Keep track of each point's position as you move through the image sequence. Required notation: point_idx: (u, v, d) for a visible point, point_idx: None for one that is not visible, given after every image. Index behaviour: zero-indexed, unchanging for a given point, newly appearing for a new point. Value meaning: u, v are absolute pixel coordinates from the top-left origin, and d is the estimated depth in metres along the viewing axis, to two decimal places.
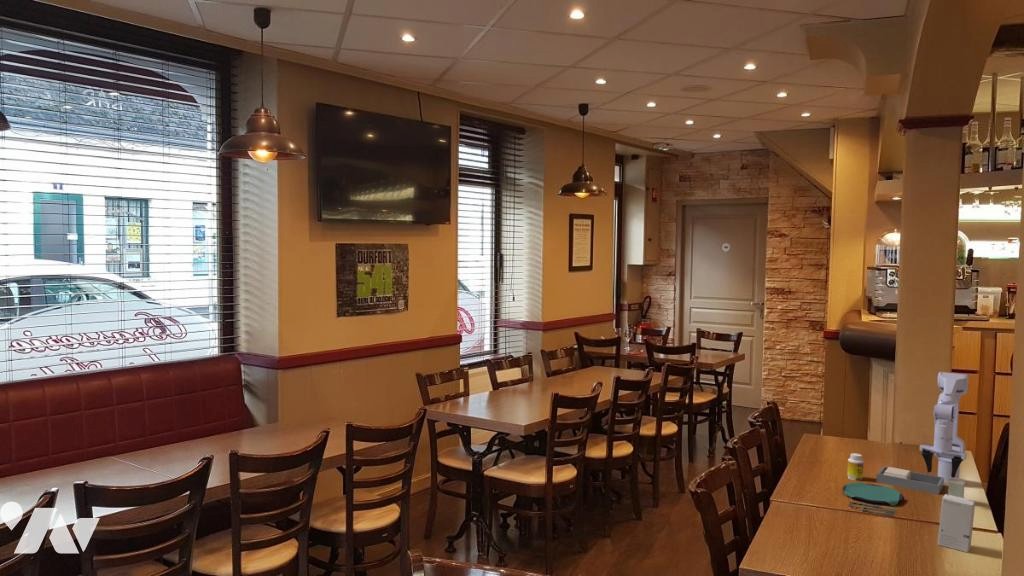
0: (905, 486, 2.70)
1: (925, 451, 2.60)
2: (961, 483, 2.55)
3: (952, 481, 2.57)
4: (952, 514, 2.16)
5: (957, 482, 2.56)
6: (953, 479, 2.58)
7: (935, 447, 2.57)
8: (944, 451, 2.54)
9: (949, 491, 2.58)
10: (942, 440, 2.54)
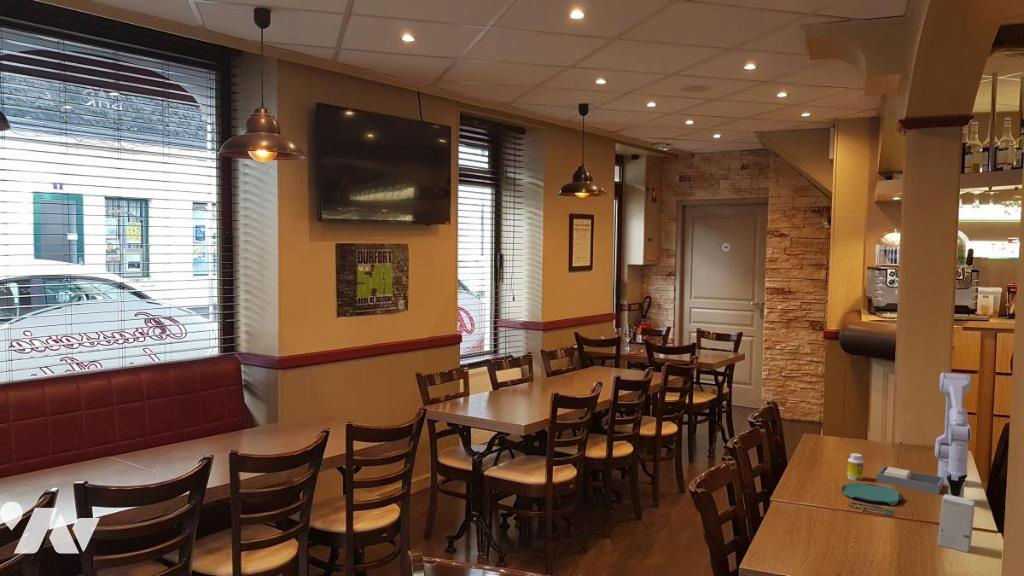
0: (905, 486, 2.70)
1: None
2: None
3: None
4: (952, 514, 2.16)
5: None
6: None
7: None
8: (948, 469, 2.59)
9: (949, 491, 2.58)
10: (948, 458, 2.59)
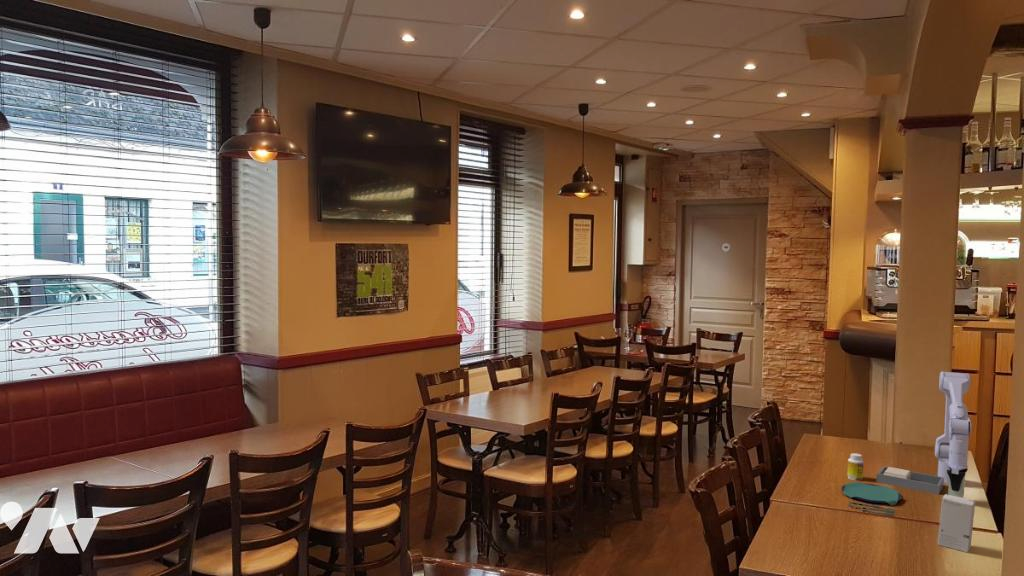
0: (905, 486, 2.70)
1: None
2: None
3: None
4: (952, 514, 2.15)
5: None
6: None
7: None
8: (948, 463, 2.58)
9: (950, 485, 2.58)
10: (949, 452, 2.59)
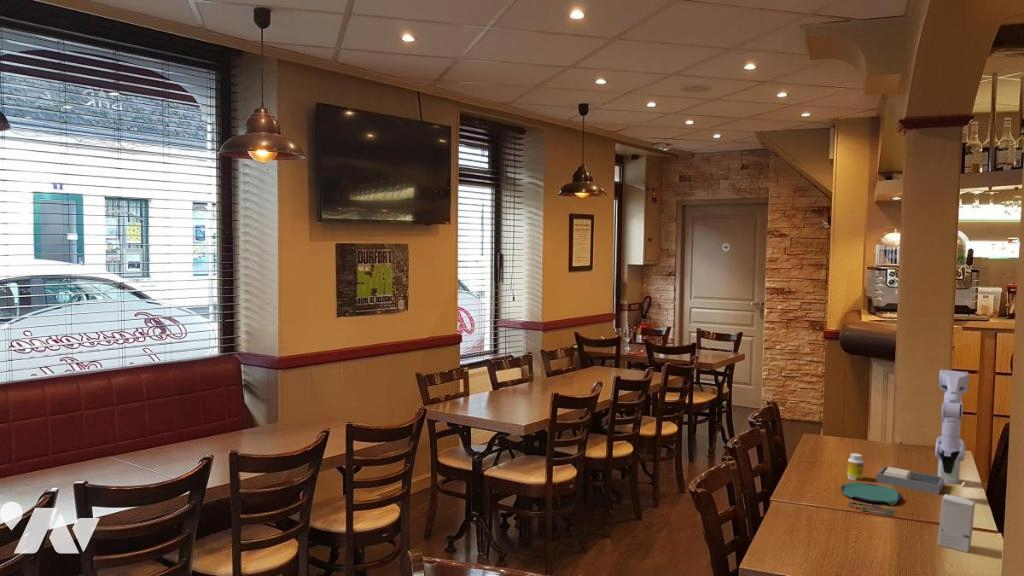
0: (905, 486, 2.70)
1: None
2: None
3: None
4: (952, 514, 2.15)
5: None
6: None
7: None
8: (941, 446, 2.62)
9: (942, 468, 2.61)
10: (941, 435, 2.62)
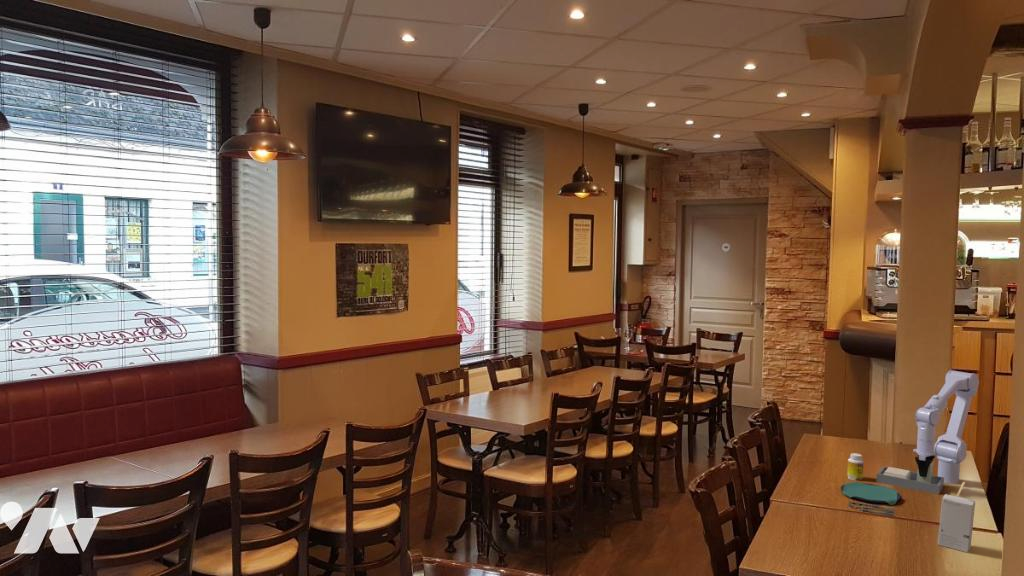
0: (905, 486, 2.70)
1: None
2: None
3: None
4: (952, 514, 2.15)
5: None
6: None
7: None
8: (916, 450, 2.72)
9: (918, 472, 2.71)
10: (917, 440, 2.72)
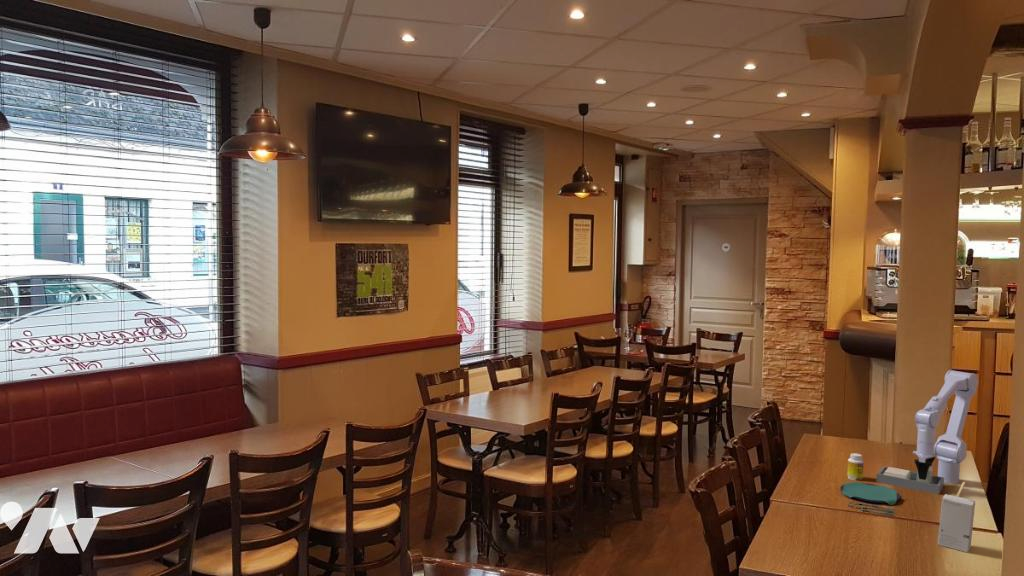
0: (905, 486, 2.70)
1: None
2: (928, 469, 2.69)
3: None
4: (952, 514, 2.15)
5: None
6: None
7: None
8: (916, 452, 2.72)
9: (918, 477, 2.71)
10: (917, 442, 2.72)
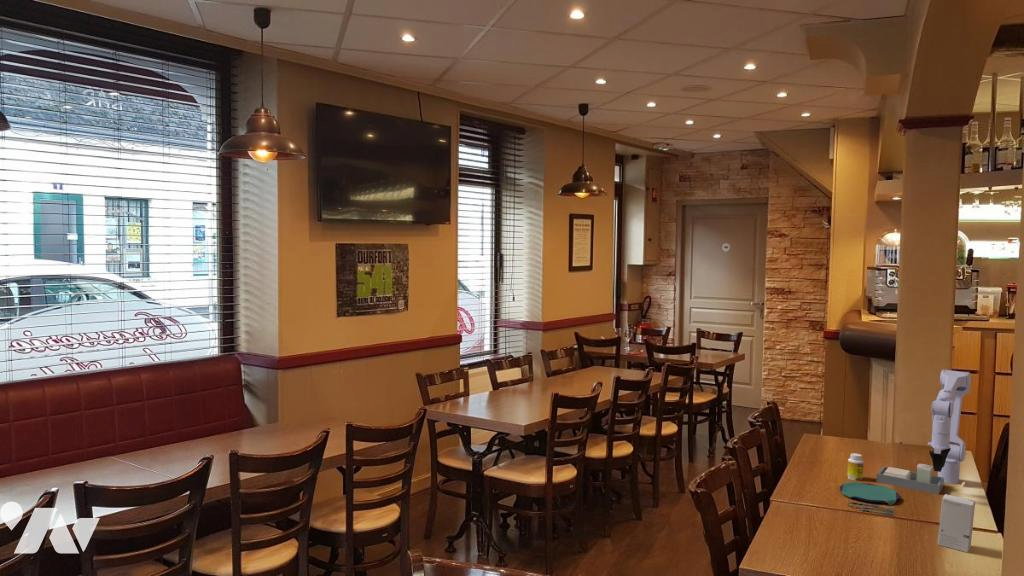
0: (905, 486, 2.70)
1: None
2: (928, 469, 2.69)
3: (920, 467, 2.70)
4: (952, 514, 2.15)
5: (925, 468, 2.69)
6: (921, 465, 2.71)
7: None
8: (931, 443, 2.64)
9: (918, 477, 2.71)
10: (932, 433, 2.65)
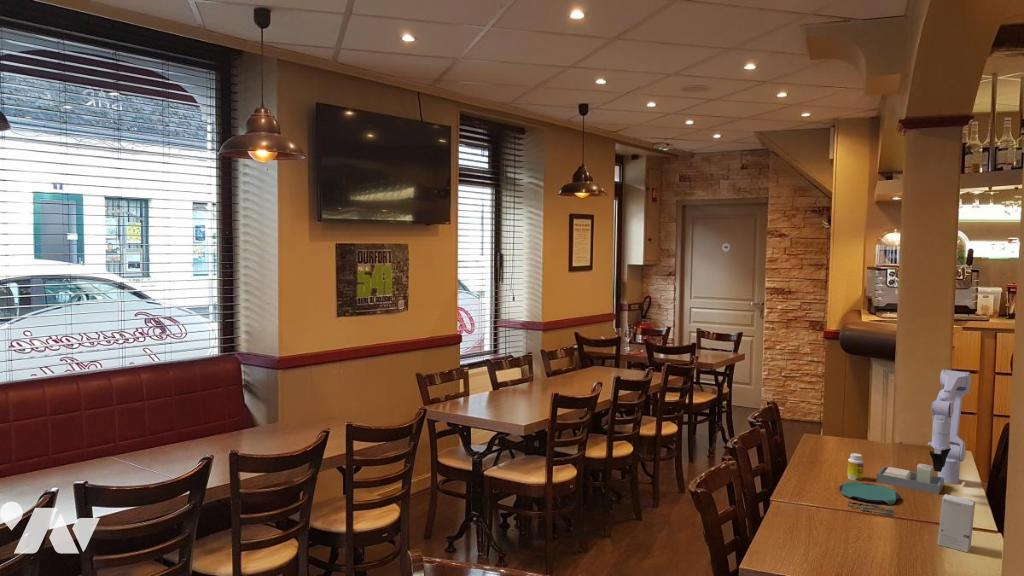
0: (905, 486, 2.70)
1: None
2: (928, 469, 2.69)
3: (920, 467, 2.70)
4: (952, 514, 2.16)
5: (925, 468, 2.69)
6: (921, 465, 2.71)
7: None
8: (931, 443, 2.64)
9: (918, 477, 2.71)
10: (932, 433, 2.65)
